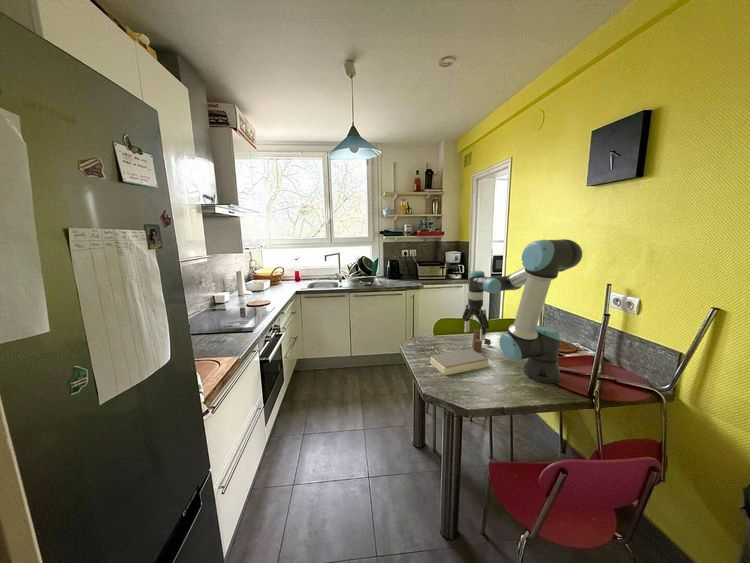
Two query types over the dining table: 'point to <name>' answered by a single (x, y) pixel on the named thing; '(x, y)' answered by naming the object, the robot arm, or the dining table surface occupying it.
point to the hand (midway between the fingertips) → (474, 335)
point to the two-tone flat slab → (458, 361)
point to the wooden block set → (478, 341)
